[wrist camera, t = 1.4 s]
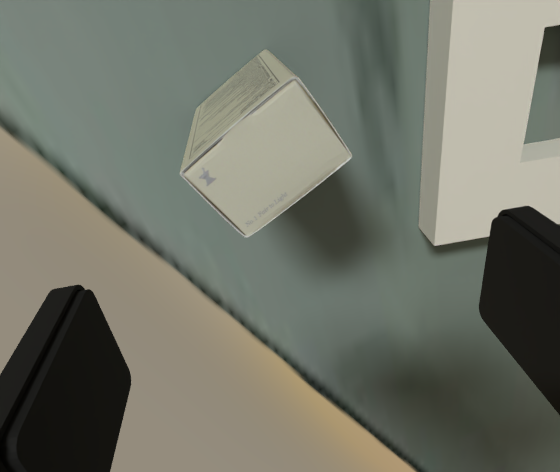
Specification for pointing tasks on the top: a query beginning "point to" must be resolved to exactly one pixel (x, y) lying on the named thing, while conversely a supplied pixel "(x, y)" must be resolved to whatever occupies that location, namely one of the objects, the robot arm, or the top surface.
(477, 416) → the top surface
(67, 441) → the robot arm
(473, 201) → the box stand
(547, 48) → the top surface
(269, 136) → the skincare box
